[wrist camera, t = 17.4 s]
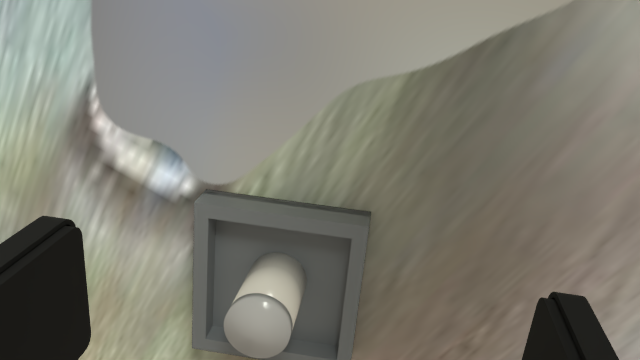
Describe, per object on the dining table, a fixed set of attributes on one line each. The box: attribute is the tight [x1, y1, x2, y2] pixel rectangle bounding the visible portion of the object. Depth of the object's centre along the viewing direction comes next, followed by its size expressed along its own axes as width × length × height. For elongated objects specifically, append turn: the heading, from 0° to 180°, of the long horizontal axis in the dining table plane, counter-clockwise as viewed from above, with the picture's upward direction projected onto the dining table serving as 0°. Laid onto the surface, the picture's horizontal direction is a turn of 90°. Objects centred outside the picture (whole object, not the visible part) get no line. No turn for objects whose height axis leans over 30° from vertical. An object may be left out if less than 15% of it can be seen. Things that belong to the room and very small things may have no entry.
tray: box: [192, 189, 371, 360], centre depth 47 cm, size 14×14×3 cm
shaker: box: [224, 252, 307, 358], centre depth 44 cm, size 5×5×8 cm
